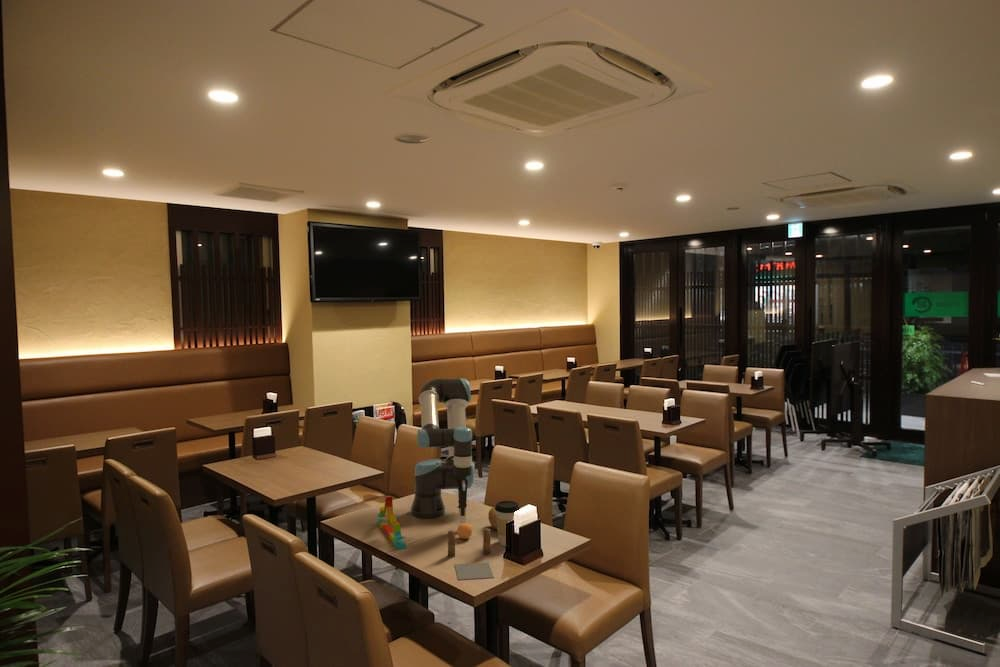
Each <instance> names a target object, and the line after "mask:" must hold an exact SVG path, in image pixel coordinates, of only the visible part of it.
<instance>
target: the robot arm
mask: <svg viewBox="0 0 1000 667" xmlns="http://www.w3.org/2000/svg"><path fill="white" fill-rule="evenodd" d="M471 401H472V394H471V386H470V383H469V380H467V378H459V377H457V378H433V379H431V380H429V381H428V382H426V383H425V384H424V385H423V386H422V387H421V388H420V391H419V393H418V403H419V404H420V412H421V413H420V414H421V415H420V419H421V421H420V422H421V429H418V430H417V435H416V436H417V439H416V440H417V444H416V445H417V446H418V447H419V448H439V447H440V448H445V447H447V448H448V455H447V457H446V458H445V462H442V460H441V459H440V458H427V459H424V460H421V461H419V462H418V463H417V464H416V465H415V467H414V498H413V501H412V504H411V507H410V515H411V516H413V517H415V518H420V519H433V518H434V519H435V518H439V517H441V516H444V514H446V508H445V507H446V506H445V503H444V501H443V498H442V490H453V489H454V490H457V492H458V498H457V500H458V506H457V509H458V524H462V523H467V522H466V521H467V520H466V518H467V516H466V515H467V514H466V512H467V507H468V506H467V505H468V504H467V498H468V497H467V495H468V494H467V493H468V489H470V488H472V487H473V485H474V478H475V471H476V469H475V467H476V466H475V465H476V463H475V462H474V461H473V454H472V453H473V452H472V451H473V448H472V447H473V446H472V445H473V444H472V443H473V430H472V428H470V427H467V418H466V416H467V414H466V408H468V405H469V403H471ZM439 403H442V404H443V406H444V409H446V410H447V411H446V413H447V428H440V425H439V424H440V423H439V410H438V404H439Z"/></svg>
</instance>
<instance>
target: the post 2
mask: <svg viewBox="0 0 1000 667" xmlns="http://www.w3.org/2000/svg"><path fill="white" fill-rule="evenodd" d="M482 531H483V537H482V538H483V542H482V544H483V546H482V547H483V548H482V551H483V552H482V554H483V555H484V556H489V555H491V529H490V528H483V530H482Z"/></svg>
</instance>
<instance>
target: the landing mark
mask: <svg viewBox="0 0 1000 667" xmlns="http://www.w3.org/2000/svg"><path fill="white" fill-rule="evenodd" d="M454 565H455V566H454V567H455V572H456V577H457V580H458V581H463V580H464V581H465V580H467V581H468V580H478V579H479V580H480V579H481V580H482V579H494V578H495V577H494V575H493V574H494V573H493V571H492V568H491V566H490V563H489V562H471V563H470V562H469V563H455V564H454Z"/></svg>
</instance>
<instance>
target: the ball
mask: <svg viewBox="0 0 1000 667" xmlns="http://www.w3.org/2000/svg"><path fill="white" fill-rule="evenodd" d="M458 525H459V526H457V529H456V533H457V536H458V537H459V538H460V539H463V540H466V539H469V538H470V537H471V536H472V534H473V528H472V526H471V525H470V524H469V523H468V522H466V523H459V524H458Z"/></svg>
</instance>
